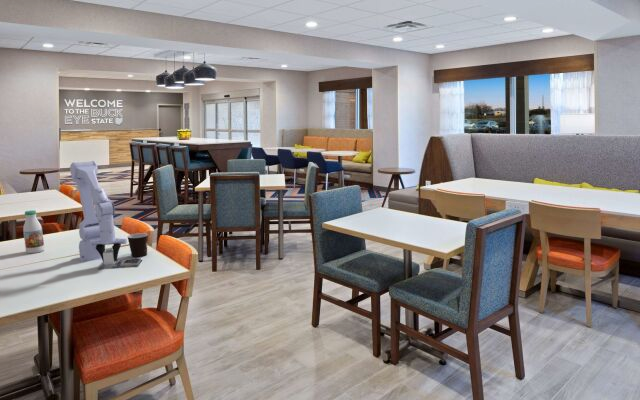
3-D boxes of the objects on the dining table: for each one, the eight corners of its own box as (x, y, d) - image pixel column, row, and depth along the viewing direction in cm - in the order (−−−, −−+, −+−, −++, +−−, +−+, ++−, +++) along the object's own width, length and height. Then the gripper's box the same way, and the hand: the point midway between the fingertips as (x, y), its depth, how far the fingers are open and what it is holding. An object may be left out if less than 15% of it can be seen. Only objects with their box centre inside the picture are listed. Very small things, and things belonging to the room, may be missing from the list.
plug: (104, 266, 196) (102, 250, 195) (106, 263, 200) (105, 248, 199) (114, 266, 197) (112, 250, 195) (116, 263, 200) (115, 247, 199)
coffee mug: (142, 259, 207) (140, 238, 205) (125, 259, 209) (123, 237, 207) (156, 252, 218) (155, 231, 216) (140, 251, 220) (138, 231, 218)
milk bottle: (22, 252, 222) (16, 212, 218) (37, 248, 229) (32, 209, 225) (33, 254, 219) (28, 213, 215) (48, 250, 226) (43, 210, 222)
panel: (97, 270, 193) (97, 266, 193) (104, 263, 203) (104, 259, 202) (137, 268, 195) (137, 264, 195) (142, 261, 205) (142, 257, 205)
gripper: (85, 233, 190) (89, 264, 193) (122, 231, 193) (125, 262, 195) (91, 229, 197) (94, 259, 200) (126, 227, 200) (129, 257, 202)
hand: (110, 260), depth 198 cm, fingers closed on plug, 4 cm apart
